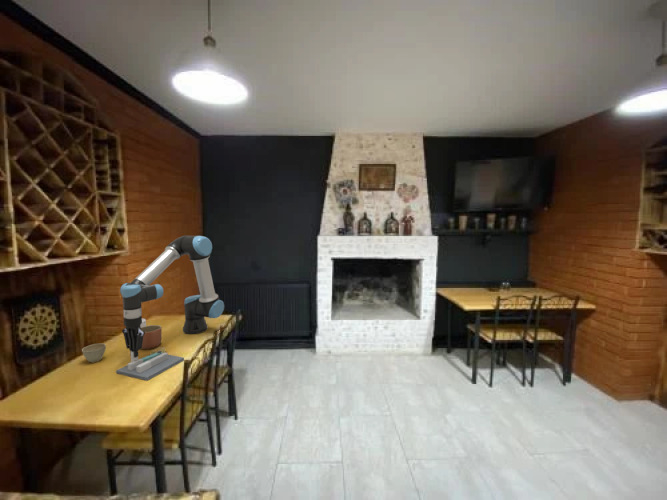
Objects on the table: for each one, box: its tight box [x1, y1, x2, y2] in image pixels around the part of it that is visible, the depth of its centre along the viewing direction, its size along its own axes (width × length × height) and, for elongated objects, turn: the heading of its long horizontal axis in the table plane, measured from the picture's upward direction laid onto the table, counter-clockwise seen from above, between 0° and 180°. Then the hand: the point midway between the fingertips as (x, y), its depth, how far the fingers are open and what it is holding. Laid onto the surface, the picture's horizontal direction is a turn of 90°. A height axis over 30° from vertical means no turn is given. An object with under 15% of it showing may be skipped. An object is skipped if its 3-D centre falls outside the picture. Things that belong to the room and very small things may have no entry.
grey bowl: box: [81, 343, 107, 363], centre depth 167 cm, size 10×10×7 cm
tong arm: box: [127, 352, 163, 371], centre depth 160 cm, size 16×2×3 cm, turn 149°
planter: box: [141, 324, 163, 350], centre depth 184 cm, size 12×12×11 cm
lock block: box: [150, 346, 166, 355], centre depth 171 cm, size 6×4×3 cm, turn 160°
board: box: [115, 351, 185, 382], centre depth 161 cm, size 24×20×5 cm
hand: (134, 362), depth 158 cm, fingers closed
